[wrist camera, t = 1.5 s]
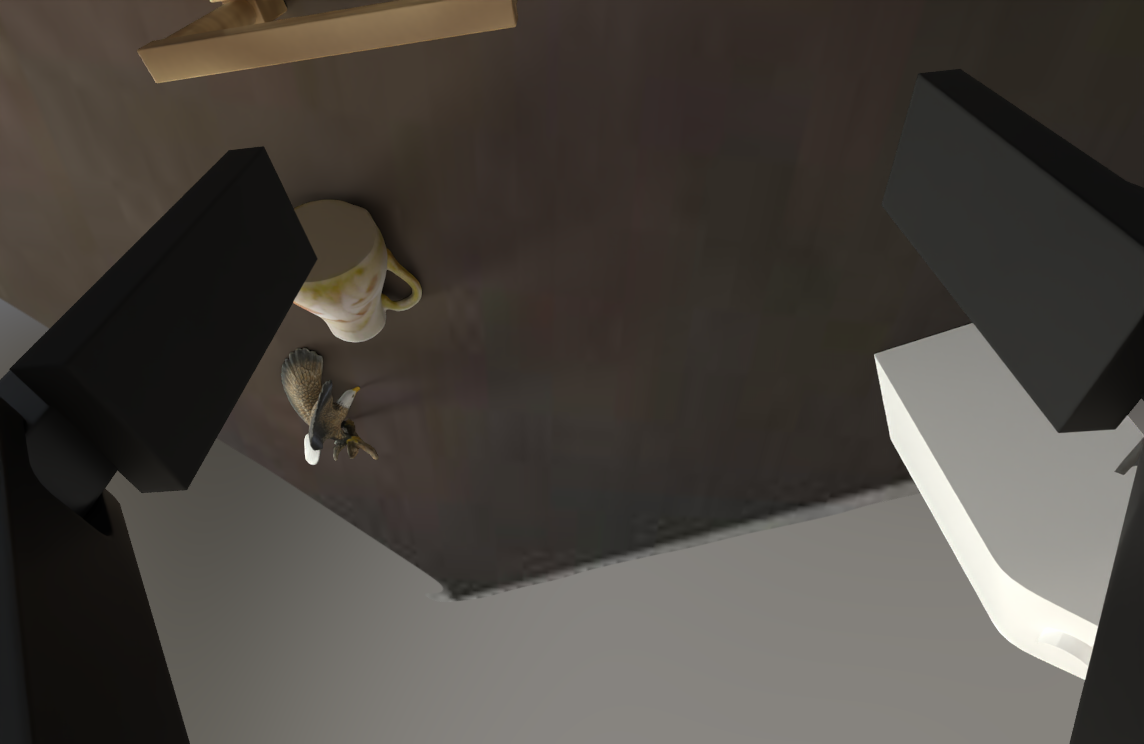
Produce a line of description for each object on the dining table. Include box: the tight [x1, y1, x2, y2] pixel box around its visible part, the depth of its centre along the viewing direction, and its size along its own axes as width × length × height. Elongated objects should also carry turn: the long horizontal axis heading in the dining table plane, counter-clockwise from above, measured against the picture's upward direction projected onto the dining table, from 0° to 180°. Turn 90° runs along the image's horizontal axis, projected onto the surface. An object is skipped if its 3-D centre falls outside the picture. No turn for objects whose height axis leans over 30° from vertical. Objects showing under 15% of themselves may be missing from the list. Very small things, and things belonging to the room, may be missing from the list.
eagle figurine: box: [281, 348, 379, 465], centre depth 48 cm, size 8×7×9 cm
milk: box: [874, 323, 1144, 680], centre depth 40 cm, size 12×12×26 cm
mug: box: [293, 199, 422, 342], centre depth 38 cm, size 8×10×10 cm
